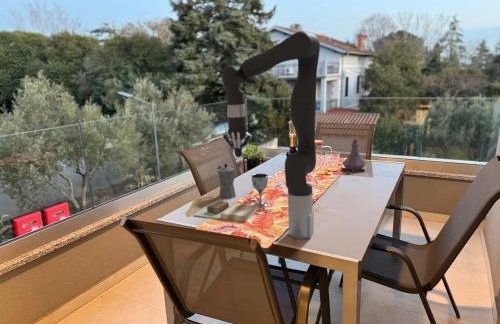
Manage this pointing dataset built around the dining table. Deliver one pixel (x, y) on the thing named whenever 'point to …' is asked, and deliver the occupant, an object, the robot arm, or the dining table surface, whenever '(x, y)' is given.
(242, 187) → the dining table surface
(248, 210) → the board
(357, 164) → the flask
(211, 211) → the brown rectangular block
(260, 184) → the wine glass
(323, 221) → the dining table surface
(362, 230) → the dining table surface
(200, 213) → the mat
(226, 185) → the coffeepot
